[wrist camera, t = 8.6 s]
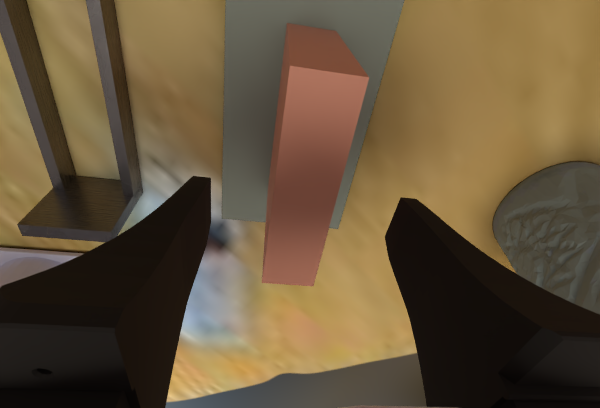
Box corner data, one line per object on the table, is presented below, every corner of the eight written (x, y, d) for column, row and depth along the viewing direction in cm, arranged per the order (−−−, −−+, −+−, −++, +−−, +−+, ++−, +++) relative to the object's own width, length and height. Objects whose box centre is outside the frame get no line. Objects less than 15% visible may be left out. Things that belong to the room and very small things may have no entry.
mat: (337, 223, 25) (338, 228, 25) (222, 213, 24) (221, 218, 24) (409, -33, 16) (413, -32, 15) (228, -68, 15) (227, -69, 14)
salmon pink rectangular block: (304, 192, 23) (313, 286, 16) (267, 188, 22) (261, 282, 16) (336, 31, 17) (369, 77, 10) (286, 22, 17) (290, 65, 10)
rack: (142, 192, 23) (113, 242, 19) (69, 185, 22) (22, 235, 18) (105, -58, 15) (39, -62, 11) (-12, -79, 14) (-126, -92, 10)
